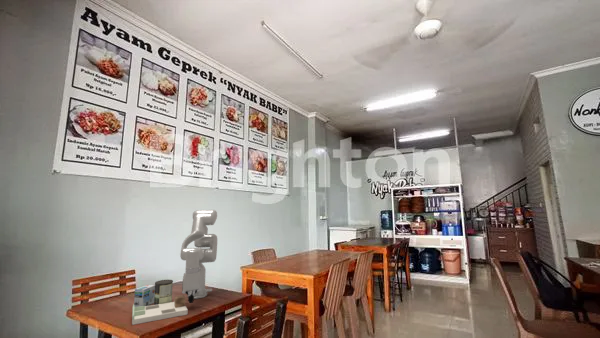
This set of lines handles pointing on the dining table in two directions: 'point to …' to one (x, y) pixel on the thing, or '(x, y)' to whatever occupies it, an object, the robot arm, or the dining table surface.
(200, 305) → the dining table surface
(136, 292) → the light bulb box
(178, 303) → the walnut block
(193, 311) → the dining table surface
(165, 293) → the coffee can
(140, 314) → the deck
